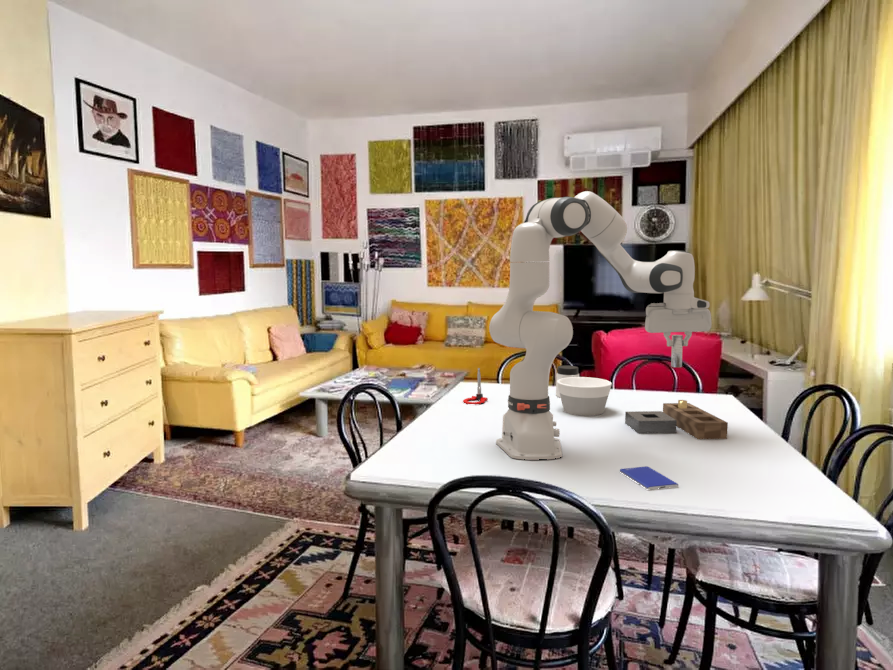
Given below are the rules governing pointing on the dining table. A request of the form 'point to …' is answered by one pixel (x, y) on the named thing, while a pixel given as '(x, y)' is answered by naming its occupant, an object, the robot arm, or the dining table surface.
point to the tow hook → (479, 395)
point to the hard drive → (648, 477)
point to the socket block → (650, 422)
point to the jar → (565, 375)
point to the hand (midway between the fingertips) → (677, 346)
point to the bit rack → (697, 421)
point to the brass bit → (682, 404)
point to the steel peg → (677, 351)
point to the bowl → (584, 395)
